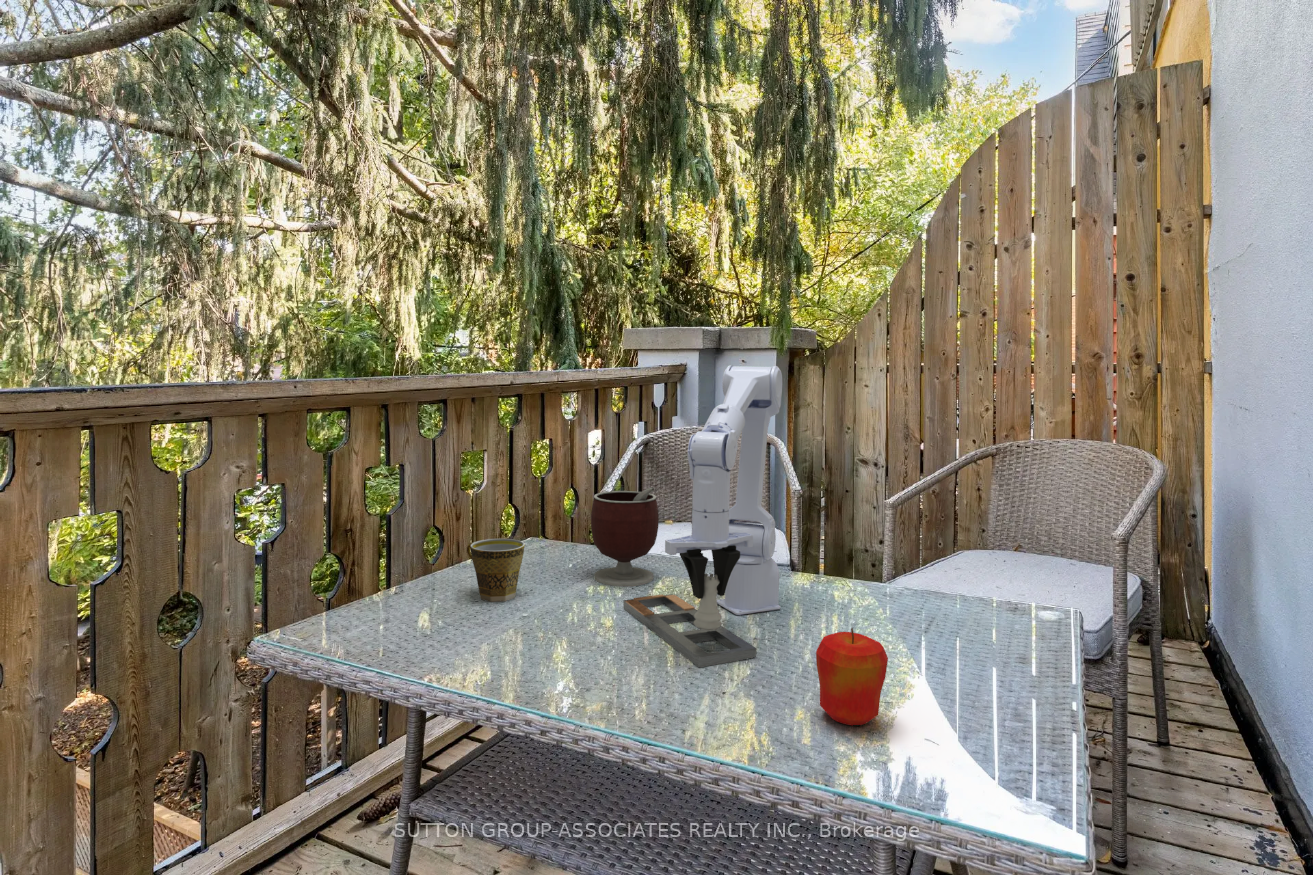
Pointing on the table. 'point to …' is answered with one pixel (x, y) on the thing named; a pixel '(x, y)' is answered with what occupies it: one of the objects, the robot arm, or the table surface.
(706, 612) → the rook chess piece
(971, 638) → the table surface
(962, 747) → the table surface
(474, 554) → the ceramic cup
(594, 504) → the mate gourd
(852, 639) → the apple
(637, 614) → the hole rail
